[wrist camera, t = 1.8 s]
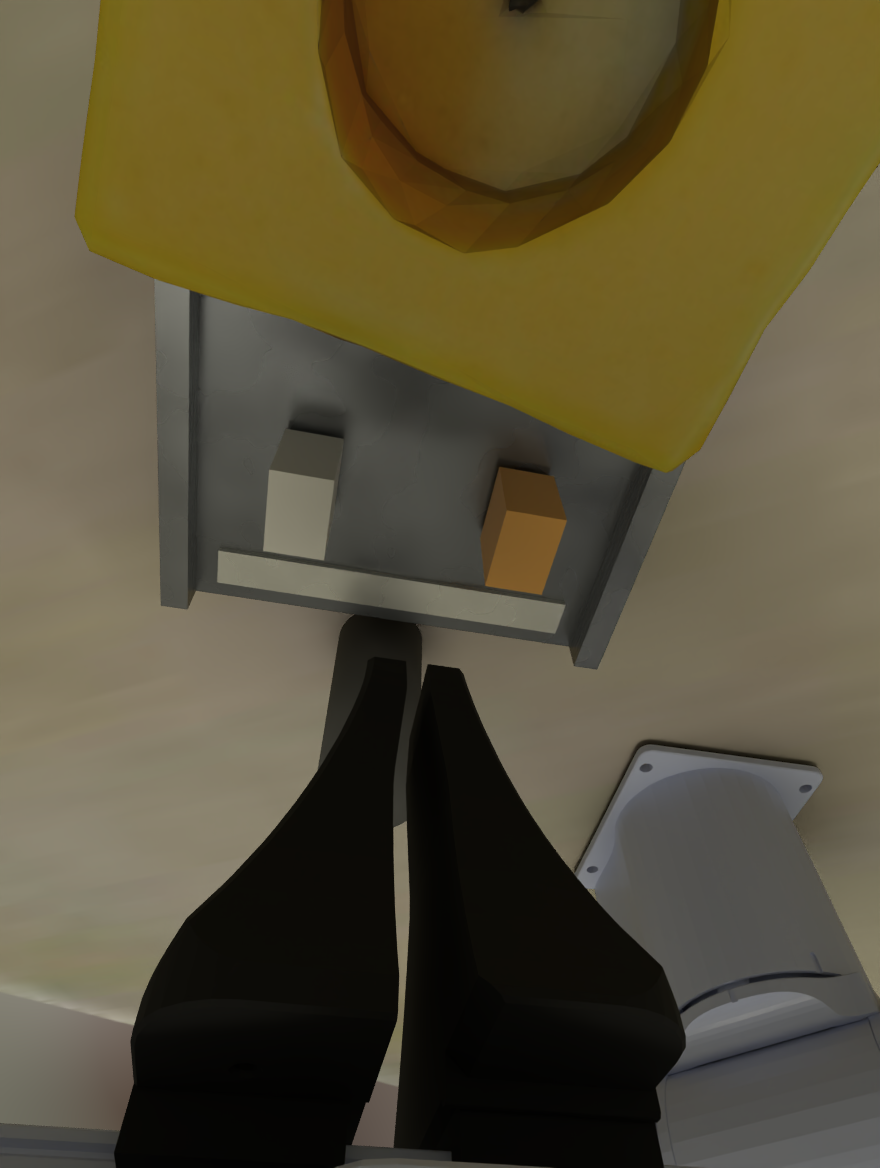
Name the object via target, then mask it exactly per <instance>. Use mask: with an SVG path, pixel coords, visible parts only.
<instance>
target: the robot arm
mask: <svg viewBox="0 0 880 1168" xmlns="http://www.w3.org/2000/svg"><path fill="white" fill-rule="evenodd" d="M406 693H407V667H406V661H402V660H395V659H388V658H381V657H373V658H371V659H369V660H368V661H367V666H366V672H365V677H364V680H363V684H362V686H361V689H360V692H359V694H358V697H357V699H356V701H355V704H354V706H353V708H352V710H351V712H350V714H349V716H348V718H347V720H346V722H345V724H344V726H343V728H342V730H341V732H340V734H339V736H338V738H337V740H336V741H335V743H334V745H333V746H332V748H331V750H330V751H329V753H328V755H327V756H326V758H325V760H324V761H323V763H322V765H321V766H320V768H319V769H318V771H317V772H316V774H315V775H314V777H313V778H312V780H311V781H310V783H309V784H308V786H307V787H306V788H305V790H304V791H303V793H302V794H301V795H300V797H299V798H298V799H297V801H296V802H295V804H294V805H293V806H292V807H291V809H290V810H289V811H288V812H287V814H286V815H285V816H284V818H283V819H282V820H281V821H280V823H279V824H278V825H277V826H276V828H275V829H274V830H273V831H272V832H271V834H270V835H269V836H268V837H267V838H266V839H265V841H264V842H263V843H262V844H261V845H260V846H259V847H258V848H257V849H256V850H255V852H254V853H253V854H252V855H251V856H250V857H249V858H248V859H247V860H246V861H245V862H244V863H243V864H242V865H241V867H240V868H239V869H238V870H237V871H236V872H235V873H234V874H233V875H232V876H231V877H230V878H229V879H228V880H227V881H226V882H225V883H224V884H223V885H222V886H221V887H220V888H219V889H218V890H217V891H216V892H214V893H213V894H212V895H211V896H210V897H209V898H208V899H207V900H206V901H205V902H204V903H203V904H201V905H200V906H199V907H198V908H197V909H196V910H195V911H194V912H193V913H192V914H191V915H190V916H189V917H187V919H186V920H185V922H184V923H183V925H182V926H181V928H180V929H179V931H178V932H177V934H176V935H175V937H174V939H173V940H172V942H171V943H170V945H169V947H168V948H167V950H166V952H165V953H164V955H163V957H162V958H161V960H160V962H159V963H158V965H157V967H156V969H155V971H154V973H153V975H152V977H151V979H150V981H149V983H148V986H147V988H146V990H145V993H144V995H143V998H142V1001H141V1004H140V1007H139V1011H138V1014H137V1017H136V1021H135V1024H134V1028H133V1032H132V1037H131V1053H132V1065H133V1077H134V1085H133V1089H132V1092H131V1095H130V1099H129V1102H128V1106H127V1109H126V1113H125V1116H124V1120H123V1123H122V1126H121V1130H120V1131H116V1130H100V1129H84V1128H68V1127H51V1126H35V1125H20V1124H4V1123H0V1168H880V998H879V996H878V995H877V994H876V992H875V991H874V990H873V988H872V986H871V984H870V982H869V980H868V977H867V975H866V973H865V971H864V969H863V967H862V965H861V963H860V961H859V959H858V957H857V954H856V952H855V950H854V948H853V946H852V944H851V942H850V940H849V938H848V936H847V934H846V931H845V929H844V927H843V925H842V923H841V921H840V919H839V917H838V915H837V913H836V911H835V909H834V906H833V904H832V902H831V900H830V898H829V896H828V894H827V892H826V890H825V888H824V886H823V883H822V881H821V879H820V877H819V875H818V873H817V871H816V869H815V867H814V865H813V863H812V861H811V858H810V856H809V854H808V852H807V850H806V848H805V846H804V844H803V842H802V840H801V838H800V835H799V833H798V831H797V829H796V827H795V825H794V823H793V820H794V818H795V817H796V816H797V814H798V813H799V812H800V810H801V809H802V808H803V806H804V805H805V803H806V802H807V801H808V799H809V798H810V797H811V795H812V794H813V793H814V791H815V790H816V789H817V787H818V786H819V785H820V783H821V782H822V780H823V775H822V773H821V771H820V770H819V769H818V768H817V767H814V766H808V765H800V764H793V763H786V762H778V761H771V760H763V759H756V758H749V757H741V756H734V755H726V754H719V753H712V752H704V751H697V750H689V749H682V748H675V747H667V746H660V745H652V744H650V745H644V746H642V747H641V748H639V749H638V751H637V752H636V754H635V756H634V758H633V760H632V762H631V764H630V766H629V768H628V770H627V772H626V774H625V776H624V778H623V779H622V781H621V783H620V785H619V787H618V789H617V791H616V793H615V795H614V797H613V799H612V801H611V803H610V805H609V807H608V809H607V811H606V813H605V815H604V817H603V819H602V821H601V823H600V825H599V827H598V829H597V831H596V833H595V835H594V837H593V839H592V841H591V842H590V844H589V846H588V848H587V850H586V852H585V854H584V856H583V858H582V860H581V862H580V864H579V866H578V868H577V870H576V872H575V874H574V873H573V872H572V871H571V870H570V868H569V867H568V866H567V865H566V864H565V862H564V861H563V860H562V858H561V857H560V856H559V854H558V853H557V852H556V850H555V849H554V848H553V846H552V845H551V843H550V842H549V841H548V839H547V838H546V837H545V835H544V834H543V832H542V831H541V829H540V828H539V826H538V825H537V823H536V822H535V820H534V819H533V817H532V816H531V814H530V813H529V811H528V809H527V808H526V806H525V805H524V803H523V801H522V800H521V798H520V796H519V795H518V793H517V791H516V789H515V788H514V786H513V784H512V782H511V780H510V779H509V777H508V775H507V773H506V771H505V770H504V768H503V766H502V764H501V762H500V760H499V758H498V756H497V754H496V752H495V750H494V748H493V746H492V744H491V742H490V739H489V737H488V735H487V733H486V731H485V729H484V727H483V724H482V722H481V720H480V717H479V715H478V712H477V710H476V708H475V705H474V703H473V700H472V698H471V695H470V692H469V689H468V687H467V684H466V681H465V678H464V674H463V673H462V672H461V670H460V669H458V668H451V667H444V666H437V665H430V664H428V666H427V670H426V674H425V678H424V682H423V686H422V690H421V694H420V698H419V702H418V706H417V710H416V714H415V718H414V722H413V726H412V730H411V734H410V738H409V749H408V761H407V775H406V812H407V838H408V862H409V887H410V923H409V941H408V959H407V976H406V991H405V1007H404V1022H403V1036H402V1050H401V1063H400V1077H399V1089H398V1101H397V1113H396V1125H395V1137H394V1148H388V1147H372V1146H371V1147H370V1146H355V1145H352V1142H353V1139H354V1136H355V1133H356V1130H357V1127H358V1124H359V1121H360V1118H361V1115H362V1112H363V1109H364V1107H365V1103H366V1102H369V1101H370V1098H371V1095H372V1092H373V1089H374V1086H375V1083H376V1080H377V1077H378V1074H379V1071H380V1069H381V1066H382V1063H383V1060H384V1057H385V1054H386V1051H387V1048H388V1045H389V1042H390V1039H391V1037H392V1034H393V1031H394V1028H395V1025H396V1022H397V1016H398V995H399V967H398V954H397V937H396V918H395V896H394V858H393V795H394V775H395V765H396V758H397V752H398V745H399V739H400V732H401V726H402V719H403V713H404V706H405V700H406ZM643 764H645V765H643ZM586 888H588V889H595V893H596V898H597V901H596V900H595V899H594V897H593V896H592V895H591V894H590V893H589V891H588V890H587V889H586Z"/></svg>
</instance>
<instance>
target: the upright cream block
mask: <svg viewBox="0 0 880 1168" xmlns="http://www.w3.org/2000/svg"><path fill="white" fill-rule="evenodd" d="M343 443H344V439H341V438H336V437H330V436H324V435H319V434H313V433H308V432H302V431H296V430H291V429H285V431H284V434H283V436H282V439H281V441H280V444H279V446H278V449H277V451H276V454H275V456H274V459H273V461H272V464H271V466H270V469H269V479H268V492H267V506H266V519H265V533H264V546H263V551H267V552H273V553H280V554H286V555H292V556H299V557H305V558H311V559H318V560H324V558H325V553H326V549H327V544H328V539H329V534H330V530H331V525H332V520H333V516H334V509H335V502H336V495H337V487H338V480H339V472H340V465H341V457H342V450H343Z"/></svg>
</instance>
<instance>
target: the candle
mask: <svg viewBox="0 0 880 1168" xmlns="http://www.w3.org/2000/svg"><path fill="white" fill-rule="evenodd" d="M879 163H880V0H101V2H100V13H99V23H98V34H97V44H96V55H95V63H94V70H93V78H92V85H91V92H90V100H89V107H88V114H87V121H86V129H85V136H84V143H83V151H82V159H81V167H80V175H79V184H78V192H77V201H76V209H75V219H76V221H77V223H78V226H79V228H80V230H81V233H82V235H83V237H84V239H85V242H86V244H87V246H88V248H89V251H91V252H93V253H96V254H98V255H100V256H103V257H105V258H107V259H110V260H112V261H114V262H117V263H119V264H121V265H124V266H126V267H128V268H131V269H133V270H135V271H138V272H140V273H142V274H145V275H147V276H149V277H152V278H154V279H156V280H159V281H162V282H165V283H169V284H172V285H175V286H178V287H181V288H184V289H188V290H191V291H194V292H197V293H200V294H203V295H207V296H210V297H213V298H216V299H219V300H222V301H225V302H229V303H232V304H235V305H239V306H242V307H246V308H250V309H254V310H258V311H262V312H265V313H269V314H273V315H277V316H281V317H285V318H288V319H292V320H294V321H297V322H299V323H302V324H304V325H306V326H309V327H311V328H314V329H316V330H318V331H321V332H323V333H326V334H328V335H330V336H333V337H335V338H338V339H340V340H343V341H346V342H349V343H352V344H356V345H359V346H362V347H364V348H367V349H369V350H372V351H374V352H376V353H379V354H381V355H384V356H386V357H388V358H391V359H393V360H396V361H398V362H400V363H403V364H405V365H408V366H410V367H412V368H415V369H417V370H420V371H422V372H424V373H427V374H429V375H432V376H434V377H436V378H439V379H441V380H444V381H446V382H449V383H452V384H454V385H457V386H459V387H462V388H465V389H467V390H470V391H472V392H475V393H478V394H480V395H483V396H485V397H488V398H491V399H493V400H496V401H498V402H501V403H504V404H506V405H509V406H511V407H513V408H515V409H517V410H519V411H522V412H524V413H526V414H528V415H530V416H532V417H534V418H536V419H538V420H540V421H542V422H545V423H547V424H549V425H551V426H553V427H555V428H557V429H559V430H561V431H563V432H566V433H568V434H570V435H572V436H575V437H577V438H579V439H582V440H584V441H586V442H589V443H591V444H593V445H595V446H598V447H600V448H602V449H605V450H607V451H609V452H612V453H614V454H616V455H619V456H621V457H623V458H626V459H628V460H630V461H633V462H635V463H638V464H641V465H644V466H647V467H650V468H653V469H656V470H659V471H662V472H664V473H668V472H671V471H673V470H674V469H676V468H677V467H678V466H680V465H681V464H682V463H683V462H685V461H686V460H687V459H689V458H690V457H691V456H693V455H694V454H695V453H696V452H698V451H699V450H700V449H701V447H702V445H703V444H704V442H705V440H706V438H707V436H708V435H709V433H710V431H711V429H712V427H713V426H714V424H715V422H716V420H717V418H718V416H719V415H720V413H721V411H722V409H723V407H724V406H725V404H726V402H727V400H728V398H729V397H730V395H731V393H732V391H733V389H734V387H735V385H736V383H737V381H738V379H739V377H740V375H741V374H742V372H743V370H744V368H745V366H746V364H747V362H748V360H749V358H750V356H751V354H752V352H753V351H754V349H755V347H756V345H757V343H758V341H759V339H760V337H761V335H762V333H763V331H764V329H765V328H766V327H767V325H768V324H769V323H770V322H771V320H772V319H773V318H774V316H775V315H776V314H777V312H778V311H779V310H780V308H781V307H782V306H783V304H784V303H785V302H786V301H787V299H788V298H789V297H790V295H791V294H792V293H793V291H794V290H795V289H796V287H797V286H798V285H799V283H800V282H801V281H802V280H803V278H804V277H805V276H806V274H807V273H808V272H809V270H810V269H811V267H812V266H813V264H814V262H815V261H816V259H817V258H818V256H819V255H820V253H821V251H822V250H823V248H824V247H825V245H826V244H827V242H828V240H829V239H830V237H831V236H832V234H833V232H834V231H835V229H836V228H837V226H838V225H839V223H840V221H841V220H842V218H843V217H844V215H845V214H846V212H847V210H848V209H849V207H850V206H851V204H852V203H853V201H854V200H855V198H856V197H857V195H858V194H859V192H860V191H861V189H862V188H863V187H864V185H865V184H866V182H867V181H868V179H869V178H870V176H871V175H872V173H873V172H874V170H875V169H876V168H877V167H878V164H879Z"/></svg>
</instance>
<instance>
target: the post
mask: <svg viewBox="0 0 880 1168" xmlns="http://www.w3.org/2000/svg"><path fill="white" fill-rule="evenodd" d="M373 657H381V658H388V659H395V660H402V661H406V667H407V693H406V700H405V706H404V713H403V719H402V726H401V732H400V739H399V745H398V752H397V758H396V765H395V775H394V795H393V827H395V826H398V825H400V824H402V823H404V822H405V821H407V812H406V775H407V761H408V749H409V738H410V734H411V730H412V726H413V722H414V718H415V714H416V710H417V706H418V702H419V698H420V694H421V667H422V638H421V634H420V631H419V629H418V628H417V626H416V625H415V624H414V623H409V622H402V621H396V620H389V619H382V618H376V617H369V616H362V615H354V616H353V617H351V618H350V619H349V620H348V621H347V622H346V623H345V624H344V625H343V627H342V629H341V631H340V635H339V641H338V647H337V653H336V660H335V666H334V672H333V678H332V685H331V691H330V697H329V704H328V710H327V716H326V722H325V729H324V735H323V741H322V747H321V754H320V760H319V766H318V769H319V768H320V766H321V765H322V763H323V761H324V760H325V758H326V756H327V755H328V753H329V751H330V750H331V748H332V746H333V745H334V743H335V741H336V740H337V738H338V736H339V734H340V732H341V730H342V728H343V726H344V724H345V722H346V720H347V718H348V716H349V714H350V712H351V710H352V708H353V706H354V704H355V701H356V699H357V697H358V694H359V692H360V689H361V686H362V684H363V680H364V677H365V672H366V666H367V661H368V660H369V659H371V658H373Z"/></svg>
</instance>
